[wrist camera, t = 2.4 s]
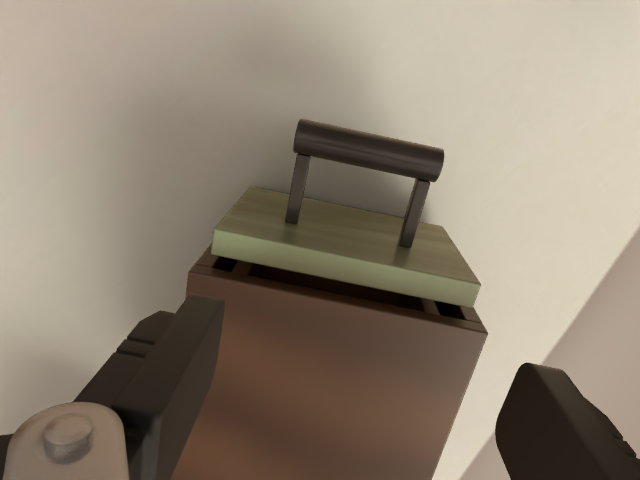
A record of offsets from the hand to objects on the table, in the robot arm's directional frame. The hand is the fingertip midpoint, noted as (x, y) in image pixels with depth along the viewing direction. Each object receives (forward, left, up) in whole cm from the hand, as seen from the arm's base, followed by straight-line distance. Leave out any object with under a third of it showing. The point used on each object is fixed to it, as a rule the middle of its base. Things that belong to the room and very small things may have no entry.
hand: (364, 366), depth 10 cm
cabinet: (+9, -4, -18) cm, 20 cm away
